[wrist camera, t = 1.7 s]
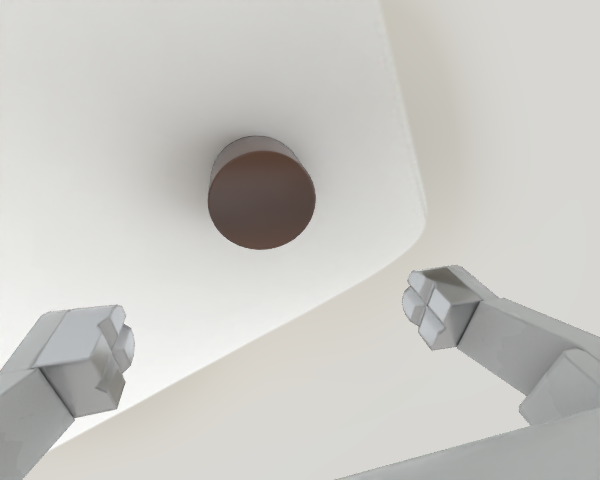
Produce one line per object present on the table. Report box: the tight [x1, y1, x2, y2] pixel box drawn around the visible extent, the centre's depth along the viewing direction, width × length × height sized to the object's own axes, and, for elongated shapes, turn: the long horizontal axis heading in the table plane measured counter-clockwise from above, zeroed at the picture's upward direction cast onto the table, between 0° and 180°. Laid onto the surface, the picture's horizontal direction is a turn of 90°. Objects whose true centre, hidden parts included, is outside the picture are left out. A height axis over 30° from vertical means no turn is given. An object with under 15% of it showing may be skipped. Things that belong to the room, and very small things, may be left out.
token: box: [208, 136, 316, 250], centre depth 14 cm, size 5×5×3 cm
